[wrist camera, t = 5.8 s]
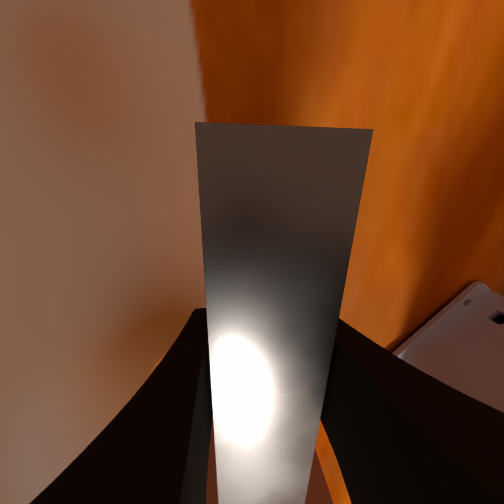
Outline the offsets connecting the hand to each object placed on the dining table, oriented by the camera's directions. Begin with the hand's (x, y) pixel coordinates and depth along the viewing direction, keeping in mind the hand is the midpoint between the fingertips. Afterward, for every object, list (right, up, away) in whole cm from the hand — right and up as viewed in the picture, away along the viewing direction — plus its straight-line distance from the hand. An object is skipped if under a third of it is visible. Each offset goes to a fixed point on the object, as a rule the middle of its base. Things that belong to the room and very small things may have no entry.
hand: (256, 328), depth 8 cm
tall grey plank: (0, +1, +2) cm, 2 cm away
